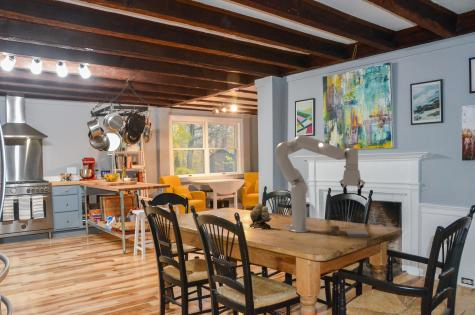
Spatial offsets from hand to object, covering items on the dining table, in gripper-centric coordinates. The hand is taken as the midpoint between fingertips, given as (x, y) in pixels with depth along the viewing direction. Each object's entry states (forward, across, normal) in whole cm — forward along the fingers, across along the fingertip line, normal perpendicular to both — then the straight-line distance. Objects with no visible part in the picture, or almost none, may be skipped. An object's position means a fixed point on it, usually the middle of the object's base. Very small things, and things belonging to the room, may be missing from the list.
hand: (352, 194), depth 235 cm
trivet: (+24, +5, -4) cm, 25 cm away
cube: (+24, -6, -10) cm, 27 cm away
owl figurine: (+25, -57, -23) cm, 67 cm away
